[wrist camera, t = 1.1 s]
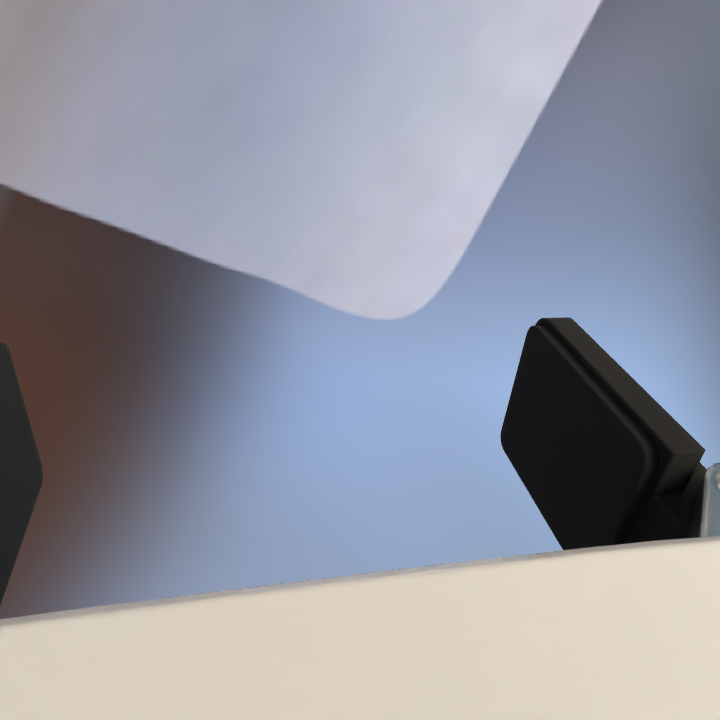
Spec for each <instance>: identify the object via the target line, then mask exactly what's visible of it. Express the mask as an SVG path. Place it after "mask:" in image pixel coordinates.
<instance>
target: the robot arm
mask: <svg viewBox="0 0 720 720" xmlns="http://www.w3.org/2000/svg"><path fill="white" fill-rule="evenodd" d="M501 444H502V447H503V449H504V451H505V453H506V455H507V456H508V458H509V460H510V462H511V463H512V465H513V467H514V468H515V470H516V471H517V473H518V475H519V477H520V478H521V480H522V482H523V483H524V485H525V487H526V488H527V490H528V491H529V493H530V495H531V497H532V498H533V500H534V502H535V504H536V505H537V507H538V509H539V510H540V512H541V514H542V515H543V517H544V519H545V520H546V522H547V524H548V525H549V527H550V529H551V530H552V532H553V534H554V535H555V537H556V539H557V541H558V542H559V544H560V545H561V547H562V549H563V551H554V552H545V553H536V554H528V555H519V556H510V557H501V558H492V559H483V560H474V561H466V562H457V563H448V564H440V565H431V566H424V567H415V568H407V569H398V570H389V571H381V572H372V573H364V574H356V575H347V576H339V577H331V578H322V579H314V580H306V581H297V582H289V583H281V584H273V585H264V586H256V587H248V588H240V589H233V590H225V591H216V592H208V593H201V594H192V595H184V596H176V597H168V598H160V599H152V600H144V601H136V602H128V603H120V604H112V605H104V606H96V607H88V608H81V609H73V610H66V611H59V612H52V613H44V614H36V615H30V616H22V617H15V618H8V619H0V720H720V463H715V464H714V465H712V466H711V467H709V468H708V469H706V468H705V467H704V466H703V465H702V464H701V463H700V460H701V458H702V456H703V454H704V452H705V449H704V448H703V447H702V446H701V445H700V444H699V443H698V442H697V441H696V440H695V439H694V438H693V437H692V436H691V435H689V433H688V432H687V431H686V430H685V429H684V428H682V426H680V425H679V424H678V423H677V422H676V421H675V420H674V419H673V418H672V417H671V416H670V415H669V414H668V413H667V412H666V411H665V410H664V409H663V408H662V407H661V406H660V405H659V404H658V403H657V402H656V401H655V400H654V399H653V398H652V397H651V396H650V395H649V394H648V393H647V392H646V391H645V390H644V389H643V388H642V387H641V386H640V385H639V384H638V383H637V382H636V381H635V380H634V379H633V378H632V377H631V376H630V375H629V374H628V373H627V372H626V371H625V370H624V369H623V368H622V367H621V366H620V365H618V363H617V362H616V361H614V360H613V359H612V358H611V357H610V356H609V355H608V354H607V353H606V352H605V351H604V350H603V349H602V348H601V347H600V346H599V345H598V344H597V343H596V342H595V341H594V340H593V339H592V338H591V337H590V336H589V335H588V334H587V333H586V332H585V331H584V330H583V329H582V328H581V327H580V326H579V325H578V324H577V323H576V322H575V321H574V320H573V319H571V318H542V319H540V320H539V321H538V322H537V323H536V325H535V326H531V327H530V328H529V330H528V332H527V335H526V339H525V343H524V347H523V350H522V354H521V358H520V362H519V366H518V369H517V373H516V377H515V381H514V384H513V388H512V392H511V396H510V400H509V403H508V407H507V411H506V415H505V419H504V422H503V426H502V430H501ZM41 484H42V465H41V461H40V458H39V454H38V451H37V447H36V443H35V440H34V436H33V433H32V429H31V426H30V422H29V419H28V415H27V412H26V408H25V405H24V401H23V398H22V394H21V390H20V387H19V383H18V380H17V376H16V373H15V369H14V366H13V362H12V359H11V355H10V352H9V349H8V347H7V345H6V344H4V343H0V604H1V601H2V599H3V596H4V593H5V590H6V587H7V584H8V581H9V578H10V575H11V572H12V569H13V567H14V563H15V561H16V558H17V555H18V552H19V549H20V546H21V543H22V540H23V537H24V534H25V531H26V529H27V525H28V523H29V520H30V517H31V514H32V511H33V508H34V505H35V502H36V499H37V496H38V493H39V491H40V488H41Z"/></svg>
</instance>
